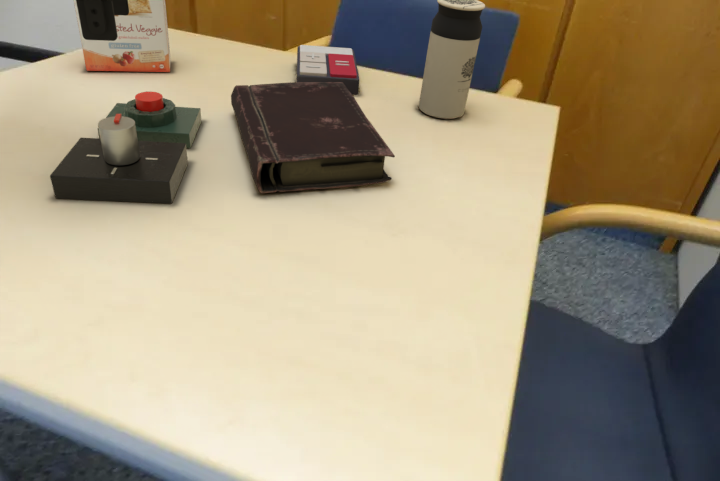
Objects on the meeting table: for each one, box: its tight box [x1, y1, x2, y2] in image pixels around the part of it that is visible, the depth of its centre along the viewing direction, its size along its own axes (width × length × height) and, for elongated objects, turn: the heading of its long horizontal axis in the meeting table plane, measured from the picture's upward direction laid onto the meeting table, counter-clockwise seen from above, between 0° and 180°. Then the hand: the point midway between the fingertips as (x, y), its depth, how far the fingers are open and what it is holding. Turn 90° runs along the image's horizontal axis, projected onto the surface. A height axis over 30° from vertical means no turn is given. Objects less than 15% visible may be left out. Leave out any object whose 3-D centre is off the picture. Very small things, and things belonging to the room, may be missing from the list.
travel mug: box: [418, 0, 486, 120], centre depth 91 cm, size 8×8×18 cm
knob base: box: [49, 137, 189, 205], centre depth 67 cm, size 13×10×3 cm
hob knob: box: [97, 114, 140, 166], centre depth 65 cm, size 4×4×5 cm
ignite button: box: [134, 91, 164, 112], centre depth 77 cm, size 4×4×2 cm
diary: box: [230, 81, 396, 194], centre depth 79 cm, size 19×25×5 cm
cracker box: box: [73, 0, 172, 73], centre depth 94 cm, size 14×6×21 cm, turn 104°
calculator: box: [296, 44, 361, 96], centre depth 103 cm, size 11×4×15 cm
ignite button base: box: [97, 97, 202, 149], centre depth 79 cm, size 12×9×4 cm
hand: (108, 26), depth 60 cm, fingers open, 9 cm apart
